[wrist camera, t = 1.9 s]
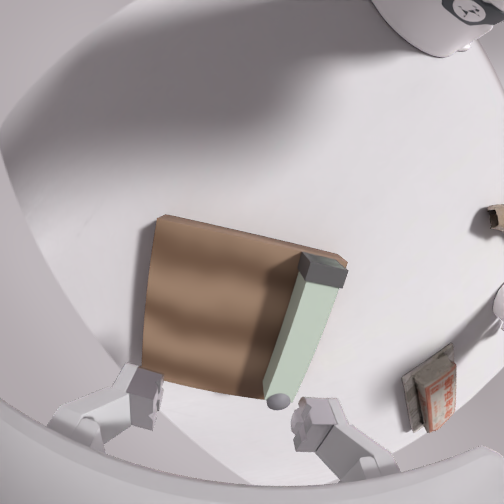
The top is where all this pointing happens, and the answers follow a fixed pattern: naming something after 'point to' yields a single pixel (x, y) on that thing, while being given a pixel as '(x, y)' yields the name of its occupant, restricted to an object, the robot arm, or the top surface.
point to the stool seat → (217, 304)
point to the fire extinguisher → (499, 305)
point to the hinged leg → (302, 327)
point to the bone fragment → (497, 217)
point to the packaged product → (431, 391)
